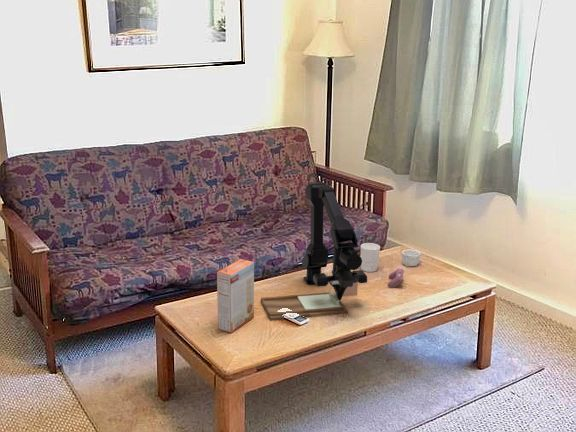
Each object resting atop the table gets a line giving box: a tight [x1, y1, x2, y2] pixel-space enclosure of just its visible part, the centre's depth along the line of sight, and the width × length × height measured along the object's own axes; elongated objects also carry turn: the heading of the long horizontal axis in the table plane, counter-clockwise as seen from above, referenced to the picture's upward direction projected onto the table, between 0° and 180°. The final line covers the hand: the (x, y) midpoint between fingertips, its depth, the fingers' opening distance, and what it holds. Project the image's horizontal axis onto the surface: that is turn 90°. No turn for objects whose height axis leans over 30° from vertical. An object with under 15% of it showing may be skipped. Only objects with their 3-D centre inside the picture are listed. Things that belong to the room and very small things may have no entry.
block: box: [343, 282, 359, 297], centre depth 258 cm, size 5×5×6 cm
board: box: [260, 291, 349, 321], centre depth 245 cm, size 16×28×2 cm, turn 104°
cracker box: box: [216, 258, 255, 334], centre depth 228 cm, size 14×6×21 cm, turn 150°
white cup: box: [360, 242, 381, 273], centre depth 280 cm, size 8×8×10 cm
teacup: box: [401, 249, 422, 267], centre depth 287 cm, size 10×8×5 cm
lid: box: [297, 291, 341, 310], centre depth 246 cm, size 11×13×2 cm
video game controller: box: [387, 267, 405, 288], centre depth 268 cm, size 10×5×7 cm, turn 169°
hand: (339, 300), depth 247 cm, fingers closed
